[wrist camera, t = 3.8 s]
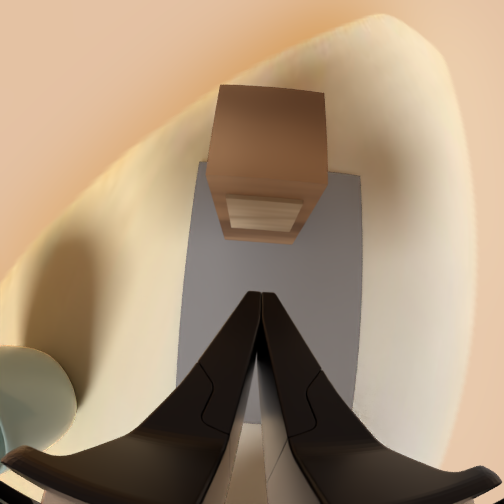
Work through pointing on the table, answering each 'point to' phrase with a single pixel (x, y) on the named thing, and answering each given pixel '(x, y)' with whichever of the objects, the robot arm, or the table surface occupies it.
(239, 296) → the mat
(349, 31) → the table surface
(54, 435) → the cup
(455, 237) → the table surface
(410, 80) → the table surface
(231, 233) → the block
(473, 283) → the table surface
